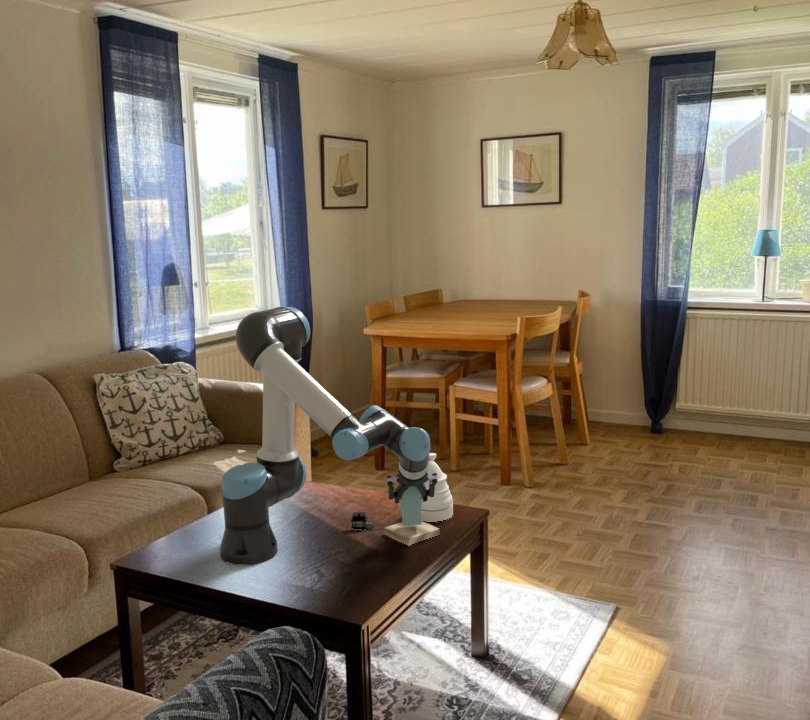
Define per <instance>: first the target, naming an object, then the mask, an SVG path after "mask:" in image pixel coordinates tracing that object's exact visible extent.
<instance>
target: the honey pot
mask: <svg viewBox="0 0 810 720" xmlns="http://www.w3.org/2000/svg"><path fill="white" fill-rule="evenodd" d="M436 459H437V453H435V452H430V454H429V460H428V470H427V473H428V475H432V474H433V473H437V480H438V482H437V484H436V485H435V492H434V497H430V496H428V497H427V499H428V500H427V501H426V502H423V505H422V509H421V521H426V522H436V523H438V522H437V521H442V522H444V521H443V520H446V521H448V520H450V519H452V517H453V516H454V504H453V503H454V502H453V495H452V494H451V490H450V487H449V484H448V483H447V478H448V475H447V474H446V473H444V472H443V471H442V470H441V468H440V466H439V465H438V464H437V463H436V462H435V460H436ZM424 485H425V487H426V489H427V490H429V480H428V481H427V482H425V483H424ZM452 515H453V516H452ZM449 518H450V519H449ZM447 519H448V520H447Z"/></svg>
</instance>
